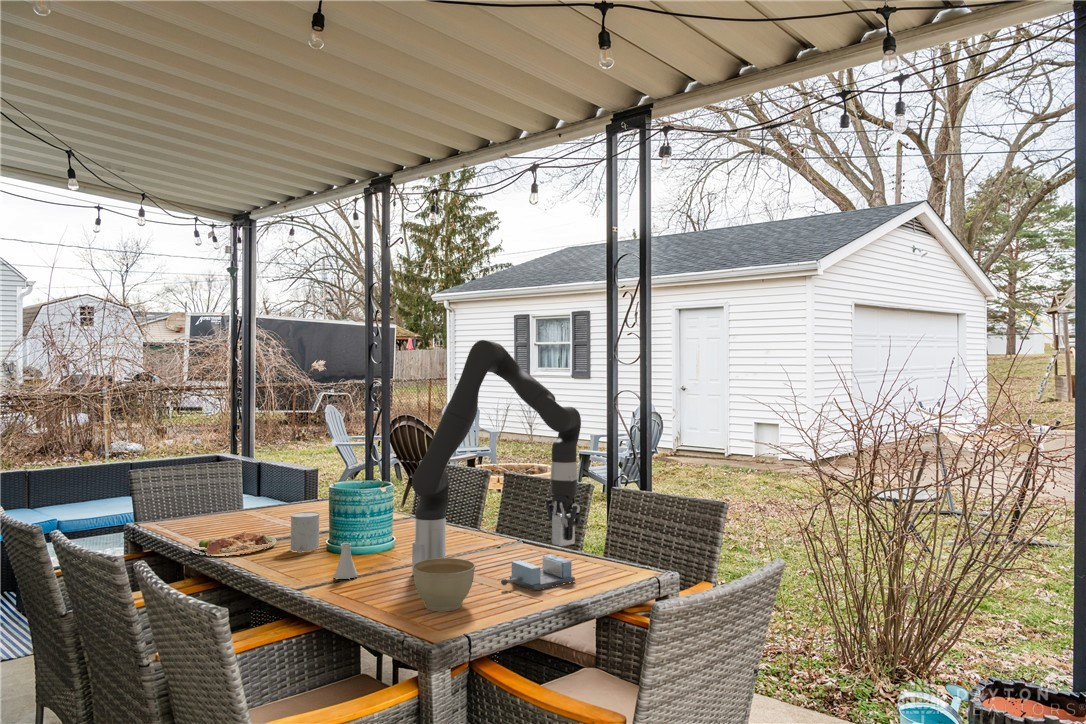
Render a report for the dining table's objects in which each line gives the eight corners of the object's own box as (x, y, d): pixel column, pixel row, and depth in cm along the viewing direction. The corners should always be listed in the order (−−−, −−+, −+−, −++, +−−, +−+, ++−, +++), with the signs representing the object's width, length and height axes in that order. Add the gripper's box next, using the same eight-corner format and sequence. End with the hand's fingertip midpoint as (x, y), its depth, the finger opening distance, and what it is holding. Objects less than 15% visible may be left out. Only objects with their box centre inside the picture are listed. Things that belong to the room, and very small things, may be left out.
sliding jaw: (511, 590, 199) (511, 572, 199) (491, 581, 207) (491, 565, 207) (541, 583, 205) (541, 566, 205) (521, 575, 213) (521, 559, 213)
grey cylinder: (284, 551, 248) (284, 515, 248) (303, 545, 257) (303, 511, 257) (306, 554, 244) (306, 517, 245) (325, 548, 253) (325, 513, 254)
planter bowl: (448, 621, 177) (448, 576, 178) (399, 609, 186) (400, 567, 186) (487, 603, 191) (487, 562, 191) (440, 594, 200) (440, 554, 200)
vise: (533, 591, 202) (533, 569, 203) (509, 581, 212) (509, 561, 212) (574, 582, 211) (574, 561, 212) (549, 573, 221) (550, 553, 221)
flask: (335, 582, 211) (336, 547, 211) (330, 576, 218) (331, 542, 218) (360, 579, 214) (360, 545, 215) (355, 573, 221) (355, 540, 221)
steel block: (560, 546, 200) (561, 517, 200) (551, 543, 203) (552, 514, 203) (574, 543, 203) (574, 515, 203) (565, 541, 206) (566, 513, 206)
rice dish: (235, 565, 235) (236, 548, 235) (171, 554, 245) (172, 538, 245) (293, 546, 261) (293, 531, 261) (233, 537, 271) (233, 522, 271)
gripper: (538, 475, 207) (537, 535, 207) (569, 481, 196) (568, 545, 195) (558, 473, 211) (558, 532, 211) (590, 479, 200) (589, 541, 200)
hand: (563, 538), depth 203 cm, fingers closed on steel block, 4 cm apart
